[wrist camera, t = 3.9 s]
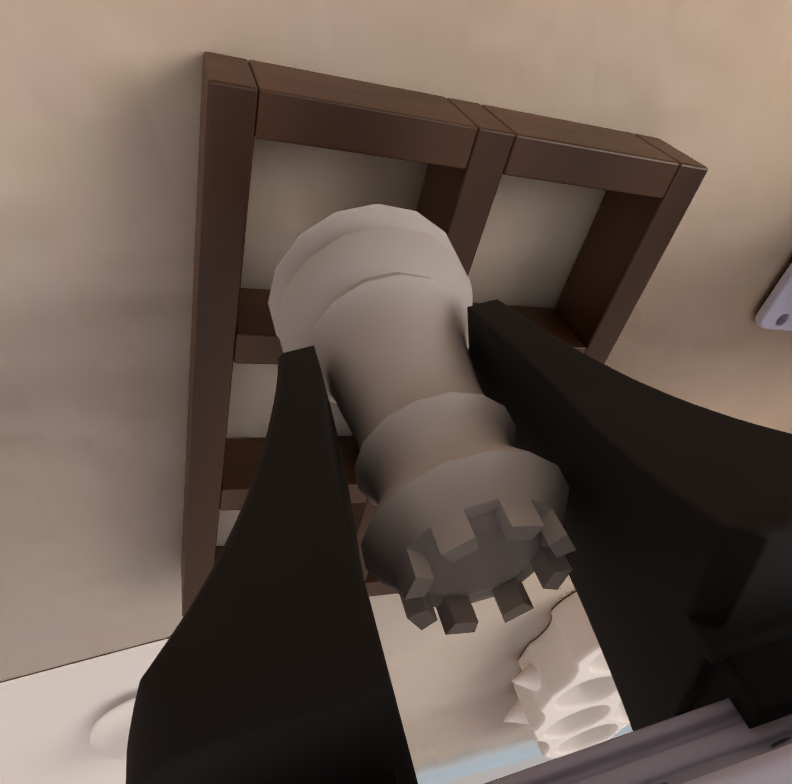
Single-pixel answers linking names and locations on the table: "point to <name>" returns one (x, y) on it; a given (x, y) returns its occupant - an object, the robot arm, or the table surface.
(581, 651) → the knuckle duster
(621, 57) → the table surface
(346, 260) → the rook chess piece
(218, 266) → the rack
